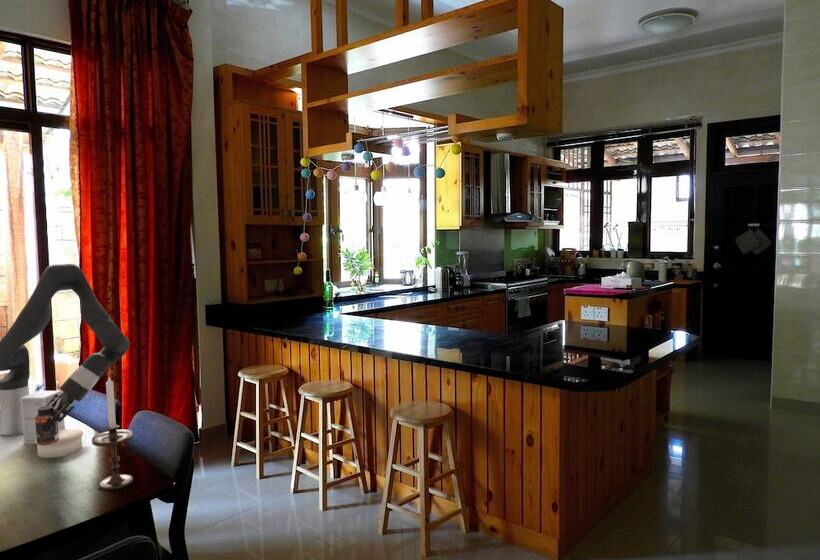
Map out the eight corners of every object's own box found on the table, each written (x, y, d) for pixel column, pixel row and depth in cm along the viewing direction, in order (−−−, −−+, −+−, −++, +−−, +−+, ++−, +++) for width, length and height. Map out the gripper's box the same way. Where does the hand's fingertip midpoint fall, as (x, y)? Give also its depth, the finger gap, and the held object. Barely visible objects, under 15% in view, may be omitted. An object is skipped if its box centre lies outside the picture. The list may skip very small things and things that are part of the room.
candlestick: (143, 482, 170) (135, 365, 167) (104, 495, 162) (96, 373, 159) (126, 472, 177) (119, 360, 174) (88, 485, 169) (80, 367, 166)
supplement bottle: (63, 440, 183) (60, 405, 182) (44, 447, 178) (42, 411, 177) (51, 437, 186) (48, 403, 185) (32, 444, 180) (29, 409, 179)
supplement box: (66, 435, 212) (63, 390, 210) (48, 444, 203) (44, 397, 201) (42, 434, 213) (38, 390, 211) (23, 444, 204) (19, 397, 202)
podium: (27, 459, 189) (26, 444, 189) (49, 443, 203) (48, 430, 203) (72, 457, 190) (70, 442, 190) (91, 441, 204) (90, 428, 204)
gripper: (63, 372, 190) (24, 416, 183) (77, 381, 180) (35, 427, 173) (82, 385, 194) (44, 428, 187) (96, 393, 184) (57, 440, 177)
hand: (40, 428), depth 180 cm, fingers closed on supplement bottle, 6 cm apart
